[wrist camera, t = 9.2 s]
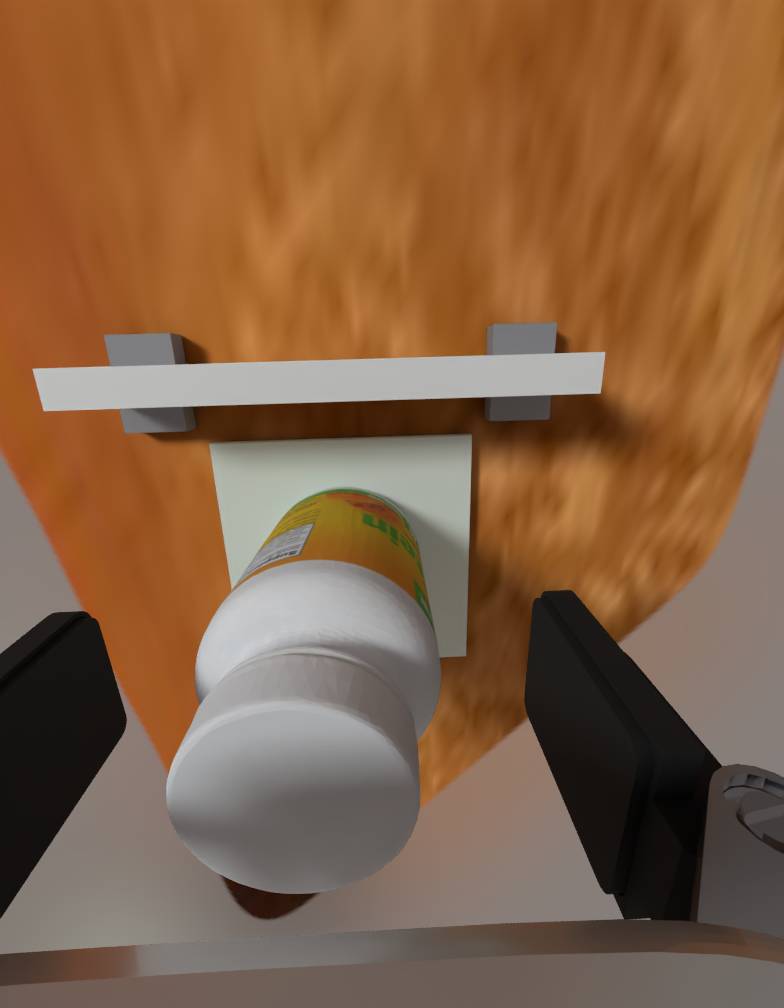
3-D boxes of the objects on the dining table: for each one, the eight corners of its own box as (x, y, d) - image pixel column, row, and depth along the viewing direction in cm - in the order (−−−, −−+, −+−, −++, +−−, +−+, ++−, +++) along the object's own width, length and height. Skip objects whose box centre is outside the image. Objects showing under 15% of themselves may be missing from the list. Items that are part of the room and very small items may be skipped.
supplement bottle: (446, 567, 16) (532, 833, 7) (333, 640, 17) (274, 964, 8) (360, 453, 15) (322, 591, 6) (242, 538, 16) (38, 783, 6)
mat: (213, 442, 15) (208, 444, 15) (469, 433, 15) (471, 435, 15) (247, 659, 18) (243, 666, 17) (464, 650, 18) (466, 656, 17)
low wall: (118, 336, 14) (20, 324, 10) (547, 324, 14) (609, 307, 10) (138, 430, 15) (54, 450, 11) (540, 417, 15) (595, 432, 11)
